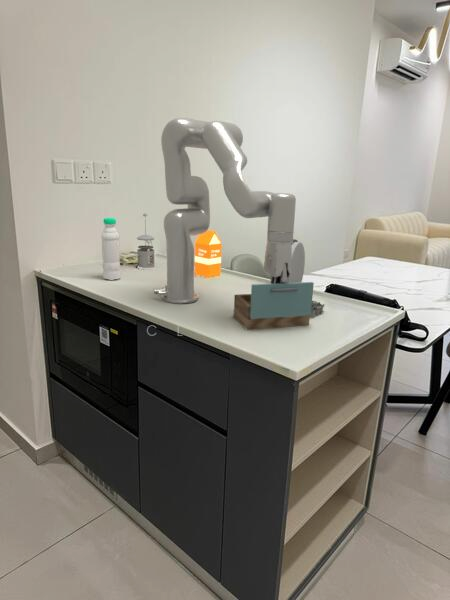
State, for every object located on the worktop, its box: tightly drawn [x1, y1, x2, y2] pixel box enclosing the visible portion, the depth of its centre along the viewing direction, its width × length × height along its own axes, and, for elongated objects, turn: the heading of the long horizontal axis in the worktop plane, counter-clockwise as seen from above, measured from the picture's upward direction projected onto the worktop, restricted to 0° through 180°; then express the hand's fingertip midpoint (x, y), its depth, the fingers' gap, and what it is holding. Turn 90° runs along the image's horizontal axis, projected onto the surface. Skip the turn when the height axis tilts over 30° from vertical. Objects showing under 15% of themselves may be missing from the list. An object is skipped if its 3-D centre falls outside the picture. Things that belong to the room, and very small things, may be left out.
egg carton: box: [310, 300, 325, 319], centre depth 147 cm, size 11×8×4 cm
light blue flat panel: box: [250, 281, 315, 319], centre depth 129 cm, size 19×2×10 cm, turn 107°
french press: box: [136, 212, 156, 268], centre depth 206 cm, size 10×12×25 cm
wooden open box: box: [233, 293, 311, 330], centre depth 138 cm, size 20×13×7 cm, turn 107°
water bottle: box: [100, 217, 122, 279], centre depth 181 cm, size 7×7×25 cm
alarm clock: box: [270, 238, 306, 283], centre depth 176 cm, size 21×8×20 cm, turn 155°
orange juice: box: [194, 229, 222, 279], centre depth 193 cm, size 8×9×20 cm
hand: (276, 297), depth 134 cm, fingers closed
